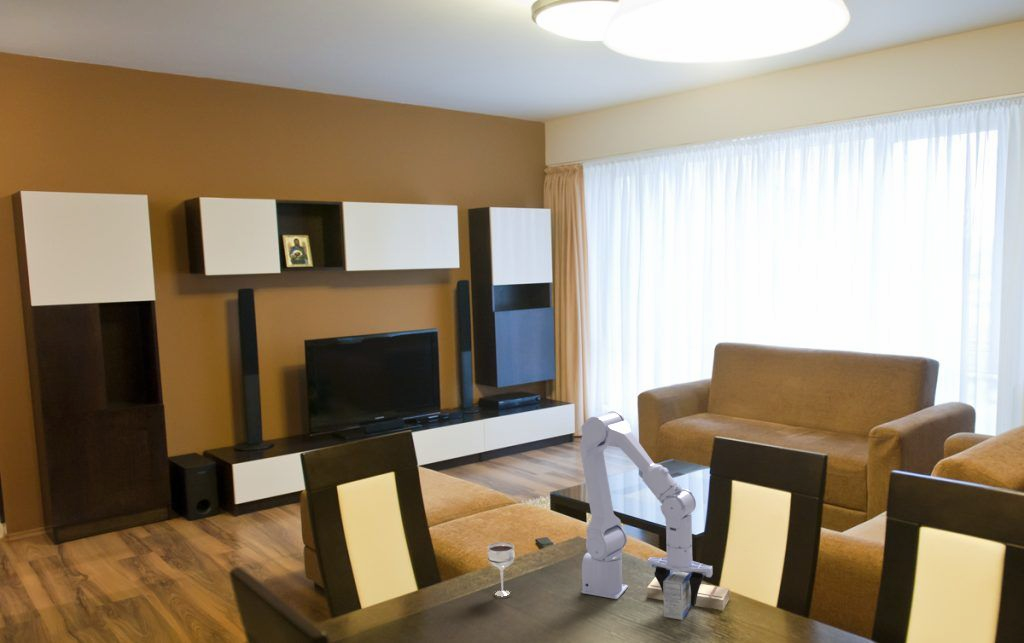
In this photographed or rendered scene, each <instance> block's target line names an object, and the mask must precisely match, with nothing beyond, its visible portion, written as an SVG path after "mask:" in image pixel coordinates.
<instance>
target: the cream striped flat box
mask: <svg viewBox="0 0 1024 643" xmlns="http://www.w3.org/2000/svg"><path fill="white" fill-rule="evenodd" d="M646 590H647V591H646V596H647V598H648V599H649V598H650V599H653V600H654V599H655V600H660V601H664V596H663V592H662V589H661V587H660V584H659V582H658V580H657V579H656V577H655V576H654V578H653V579H652V581H651V582H650V583H649V584H648V585H647V587H646ZM729 600H730V588H728V587H722V586H717V585H712V584H711V585H710V584H703V583H701V585H700V587H699V590H698V594H697V599H696V604H695V606H694V607H699V608H700V607H701V608H705V607H707V608H706V609H711V608H714V609H713V610H717V609H718V610H719V611H724V609H725V608H726V606H727V604H728V602H729ZM718 610H717V611H718Z"/></svg>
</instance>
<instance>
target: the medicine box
mask: <svg viewBox="0 0 1024 643" xmlns="http://www.w3.org/2000/svg"><path fill="white" fill-rule="evenodd" d="M691 575H692V573H686V572H672V571H671V570H670V574H669V575H668V576H667V578H666V579H665V580H664V583H663V591H664V592H663V593H664V600H663V617H665V618H669V619H674V620H679V621H683V620H684V618H685V616H686V615H687V614H688V612H689V610H690V609H691V607H692V606H691V588H690V581H689V578H690V577H691Z"/></svg>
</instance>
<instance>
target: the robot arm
mask: <svg viewBox="0 0 1024 643" xmlns="http://www.w3.org/2000/svg"><path fill="white" fill-rule="evenodd" d="M580 429H581V434H582V436H581V440H580V444H579V449H580V450H579V451H580V456H581V462H582V468H583V473H584V479H585V486H586V492H587V499H588V502H589V504H588V505H589V510H590V515H591V519H590V521H589V523H588V525H587V527H586V540H585V546H586V551H587V552H586V553H585V554H584V555H583V559H582V563H581V579H582V580H581V582H582V583H581V586H582V589H581V593H582V594H584V595H585V594H586V595H591V596H596V597H597V596H598V597H603V598H607V599H608V598H609V599H612V600H613V599H614V600H618V599H619V598H620V597H621V596H622V595H623V593H625V591H626V590H627V589H628V588H629V585H628V584H623V562H622V561H623V560H622V559H623V558H622V556H623V555H622V554H623V548H624V547H626V545H627V542H628V537H627V533H626V531H625V529H624V528H623V525H622V521H621V519H620V518H619V517H618V516H616V515H615V513H614V507H613V502H612V496H611V495H612V494H611V490H610V485H609V477H608V473H607V468H606V460H605V455H604V451H605V450H606V449H607V447H615V448H619V449H620V450H621V451H622V452H623V453H624V454H625V455H626V456H627V457H628V458H629V459H630V461H632V463H633V464H634V465H635V466H636V467H637V468H638V469H639V471H640V472H642V481H643V483H644V484H645V485H646V486H647V488H648V489H649V490H650V492H651V493H652V494H653V495H654V496H655V498H656V499H657V500H658V501H659V503H660V504H661V505H660V511H661V513H662V515H663V517H664V519H665V531H666V532H665V534H666V535H665V536H666V539H665V540H666V557H652V556H650V557H649V558H648V559H647V568H648V569H653V568H654V569H655V571H654V572H653V573H654V578H655V577H656V579H657V580H658V582H659V584H660V587H661V589H662V592H664V591H663V583H664V580H665V579H666V578H667V576H668V575H669V574H670V572H671V571H672V572H686V573H691V577H690V578H689V581H690V588H691V607H696V606H695V604H696V599H697V594H698V590H699V587H700V585H701V584H702V582H703V579H704V577H707V578H712V576H713V565H708V564H704V563H700V562H697V561H694V560H693V528H692V527H693V526H692V524H693V522H692V513H693V512H694V511H695V509H696V505H697V502H696V498H695V496H694V495H693V493H692V492H691V491H690V490H689V489H687V488H683V487H682V486H681V485H680V484H678V483H677V482H676V481H675V479H674V478H673V476H671V474H670V471H669V469H668V468H667V467H664V466H663V465H662V464H659V463H654V461H653V460H652V459H651V457H650V456H649V454H648V453H647V452H646V450H645V448H643V446H642V445H641V443H640V442H639V441H638V439H637V438H636V436H635V435H634V433H633V432H632V429H631V426H630V423H629V422H628V421H627V420H626V419H625V418H624V416H623V415H622V414H621V413H620V412H618V411H614V410H613V411H608V412H607V413H604V414H600V415H595V416H592V417H591V416H590V417H588V418H587V419H586V421H585V422H583V424H582V425H581V426H580ZM663 596H664V593H663Z"/></svg>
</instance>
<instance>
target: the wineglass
mask: <svg viewBox="0 0 1024 643" xmlns="http://www.w3.org/2000/svg"><path fill="white" fill-rule="evenodd" d="M514 549H515V545H514V544H513V543H511V542H506V541H498V542H493V543H490V544H489V545H488V546H487V550H488V552H487V560H488V562H489V564H491V565H492V566H493V567H494V568H497V569H498V570H499V573H500V587H501V591H500V590H497V592H496V591H495V592H496V593H495V595H497V596H501V597H503V596H507V595H509V594H510V592H511V591H510V592H509V590H506V589H505V590H506V591H505V590H504V571H505V569H506V568H508V567H509V566H511V564H513V563H514V561H515V558H516V553H515V550H514Z"/></svg>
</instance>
